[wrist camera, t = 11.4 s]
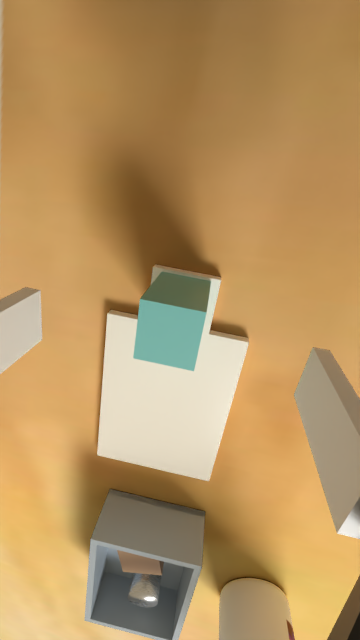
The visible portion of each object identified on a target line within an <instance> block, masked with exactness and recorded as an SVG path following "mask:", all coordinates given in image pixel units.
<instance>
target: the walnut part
mask: <svg viewBox="0 0 360 640" xmlns="http://www.w3.org/2000/svg"><path fill="white" fill-rule="evenodd" d="M117 552H118V555H119V559H120V563H121V567H122V570H123V572H130V573H141V574H152V575H162V572H163V566H164V562H163V561H159V560H156V559H152V558H148V557H144V556H140V555H136V554H132V553H128V552H124V551H120V550H117Z"/></svg>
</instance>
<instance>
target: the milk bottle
mask: <svg viewBox="0 0 360 640" xmlns="http://www.w3.org/2000/svg"><path fill="white" fill-rule="evenodd" d="M219 640H295V639H294V632H293V626H292V620H291V614H290V608H289V603H288V600H287V598H286V596H285V594H284V593H283V591H282V590H281V589H280V588H279V587H277V586H276V585H274V584H272V583H270V582H268V581H265V580H261V579H256V578H240V579H236V580H233V581H230V582H229V583H227V584H226V585H225V586H224V587H223V589H222V591H221V594H220V604H219Z"/></svg>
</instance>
